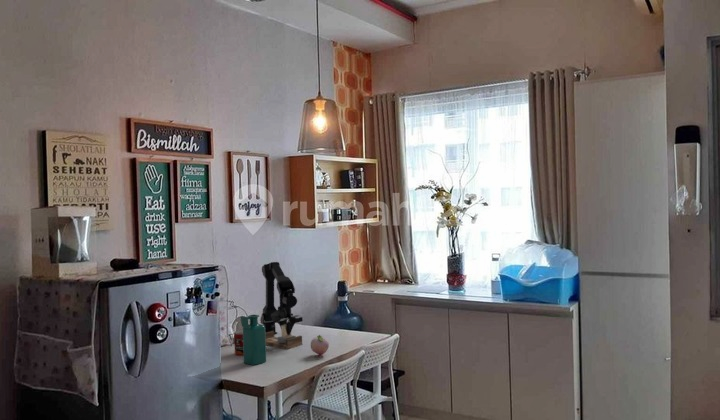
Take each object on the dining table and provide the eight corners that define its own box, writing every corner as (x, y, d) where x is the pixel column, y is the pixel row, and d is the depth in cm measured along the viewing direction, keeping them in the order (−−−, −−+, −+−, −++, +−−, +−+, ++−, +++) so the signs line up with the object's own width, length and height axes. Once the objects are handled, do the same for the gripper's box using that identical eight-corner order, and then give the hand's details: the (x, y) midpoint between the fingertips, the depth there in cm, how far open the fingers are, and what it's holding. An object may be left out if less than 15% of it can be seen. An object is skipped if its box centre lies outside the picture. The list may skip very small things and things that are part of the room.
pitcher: (256, 358, 280) (254, 312, 280) (268, 361, 275) (266, 314, 274) (239, 363, 273) (238, 315, 272) (251, 366, 267) (250, 317, 267)
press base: (258, 343, 310) (258, 334, 310) (272, 339, 318) (272, 331, 318) (288, 349, 296) (288, 340, 296) (302, 344, 304) (301, 335, 304)
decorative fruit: (308, 354, 285) (307, 333, 285) (324, 352, 288) (324, 331, 288) (314, 359, 276) (313, 337, 276) (330, 356, 279) (330, 335, 279)
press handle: (277, 342, 303) (277, 325, 303) (287, 339, 309) (286, 323, 309) (285, 343, 300) (285, 327, 299) (295, 340, 305) (295, 324, 305)
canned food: (231, 354, 289) (230, 332, 288) (242, 350, 296) (241, 328, 296) (244, 356, 285) (243, 333, 285) (254, 352, 292) (253, 330, 292)
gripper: (261, 305, 303) (262, 335, 304) (286, 308, 292) (288, 340, 292) (277, 301, 312) (278, 331, 312) (302, 304, 300) (303, 335, 301)
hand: (286, 334), depth 304 cm, fingers closed on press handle, 3 cm apart
